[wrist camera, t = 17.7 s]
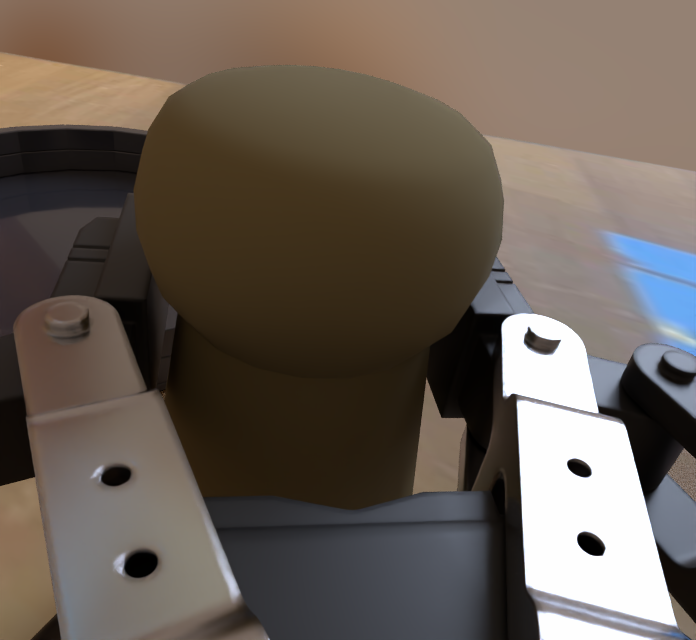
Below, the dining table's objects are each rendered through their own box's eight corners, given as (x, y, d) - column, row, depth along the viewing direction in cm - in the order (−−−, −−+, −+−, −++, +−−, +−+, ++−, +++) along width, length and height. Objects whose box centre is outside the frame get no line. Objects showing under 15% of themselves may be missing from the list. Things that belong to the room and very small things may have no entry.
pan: (95, 144, 34) (91, 101, 33) (369, 251, 29) (378, 205, 28) (-291, 266, 21) (-324, 202, 20) (81, 499, 16) (72, 435, 15)
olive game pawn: (74, 583, 13) (-24, 44, 7) (263, 436, 18) (305, 20, 11) (286, 793, 11) (419, 247, 5) (446, 562, 15) (627, 118, 9)
